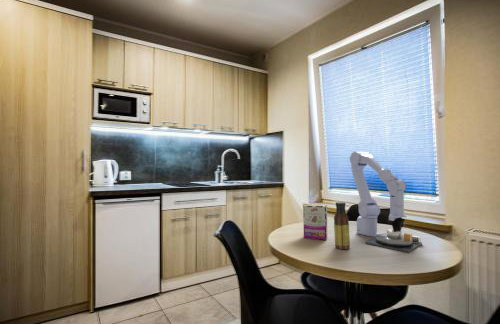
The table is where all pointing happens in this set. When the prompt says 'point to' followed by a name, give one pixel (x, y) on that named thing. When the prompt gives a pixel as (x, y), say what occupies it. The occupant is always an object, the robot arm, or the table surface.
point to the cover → (394, 234)
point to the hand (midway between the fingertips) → (397, 233)
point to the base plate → (407, 249)
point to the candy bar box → (315, 221)
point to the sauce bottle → (341, 227)
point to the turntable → (395, 240)
